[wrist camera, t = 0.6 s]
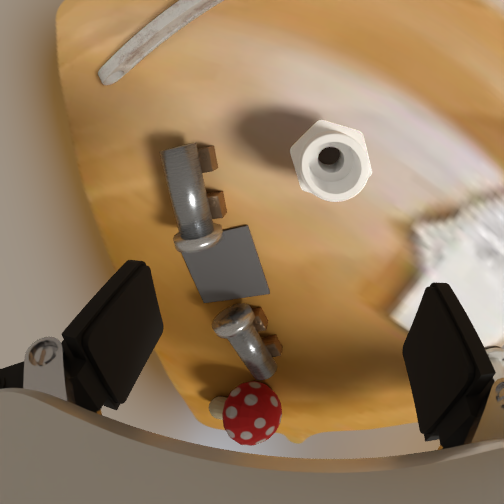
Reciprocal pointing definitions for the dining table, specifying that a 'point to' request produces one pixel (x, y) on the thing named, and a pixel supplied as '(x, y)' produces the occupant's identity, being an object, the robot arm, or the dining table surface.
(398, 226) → the dining table surface
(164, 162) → the shaft
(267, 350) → the shaft
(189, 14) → the wrench
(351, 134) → the pipe fitting
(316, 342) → the dining table surface
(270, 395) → the decorative mushroom
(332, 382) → the dining table surface
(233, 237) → the seat pad
